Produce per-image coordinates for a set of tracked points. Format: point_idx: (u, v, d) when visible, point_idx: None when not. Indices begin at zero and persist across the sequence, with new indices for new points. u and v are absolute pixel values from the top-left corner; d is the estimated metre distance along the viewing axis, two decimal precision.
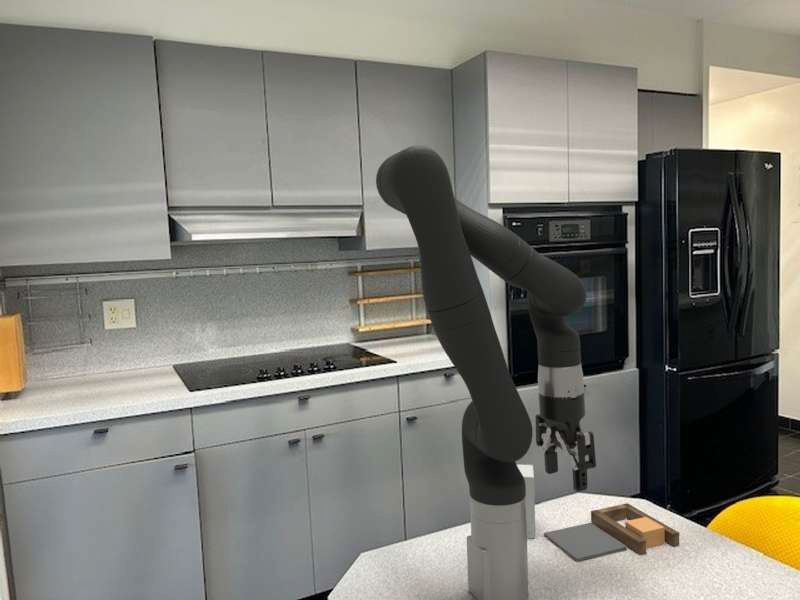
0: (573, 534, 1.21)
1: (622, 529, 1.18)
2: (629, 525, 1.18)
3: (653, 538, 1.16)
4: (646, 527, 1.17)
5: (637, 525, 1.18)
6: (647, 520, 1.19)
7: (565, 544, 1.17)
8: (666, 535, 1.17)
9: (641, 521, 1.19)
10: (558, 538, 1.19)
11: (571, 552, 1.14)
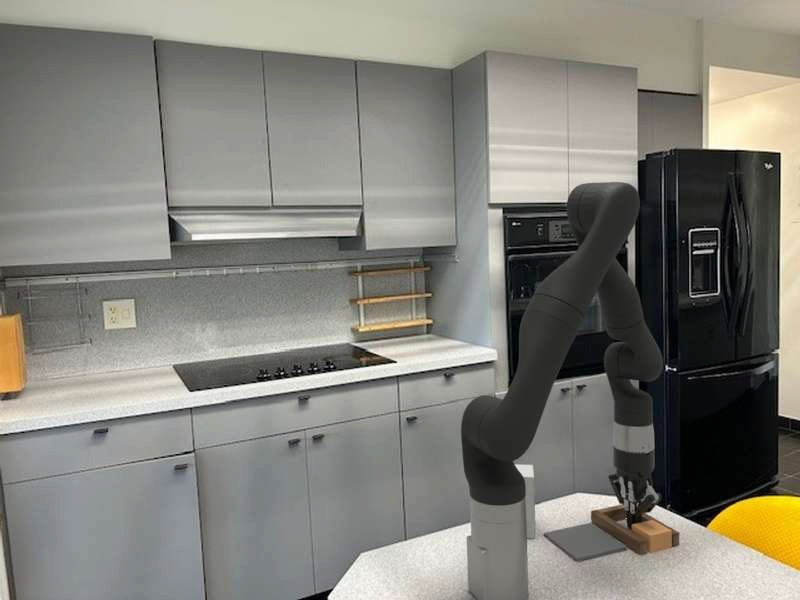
0: (573, 534, 1.21)
1: (622, 529, 1.18)
2: (636, 528, 1.17)
3: (660, 542, 1.14)
4: (653, 530, 1.15)
5: (644, 528, 1.16)
6: (654, 523, 1.18)
7: (565, 544, 1.17)
8: None
9: (648, 524, 1.18)
10: (558, 538, 1.19)
11: (571, 552, 1.14)
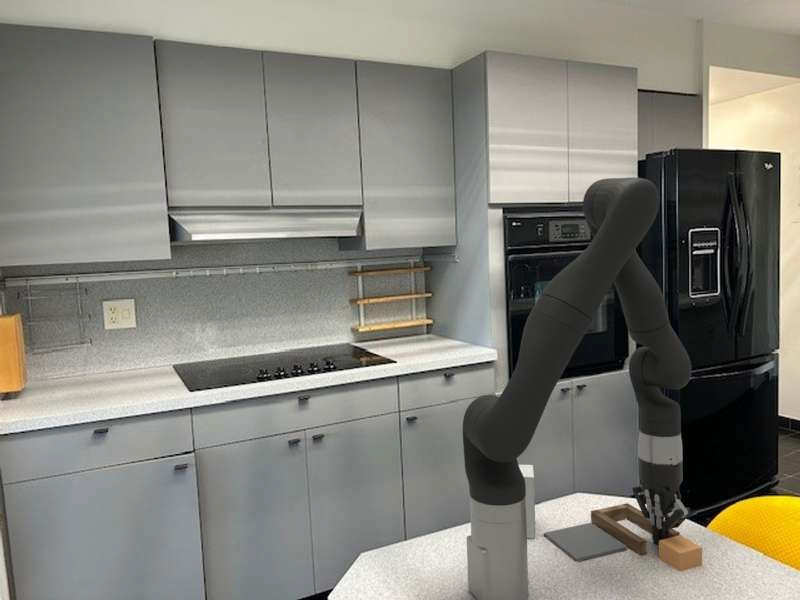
0: (573, 534, 1.21)
1: (622, 529, 1.18)
2: (663, 545, 1.10)
3: (690, 559, 1.08)
4: (682, 547, 1.09)
5: (672, 544, 1.10)
6: (682, 539, 1.11)
7: (565, 544, 1.17)
8: None
9: (676, 540, 1.11)
10: (558, 538, 1.19)
11: (571, 552, 1.14)
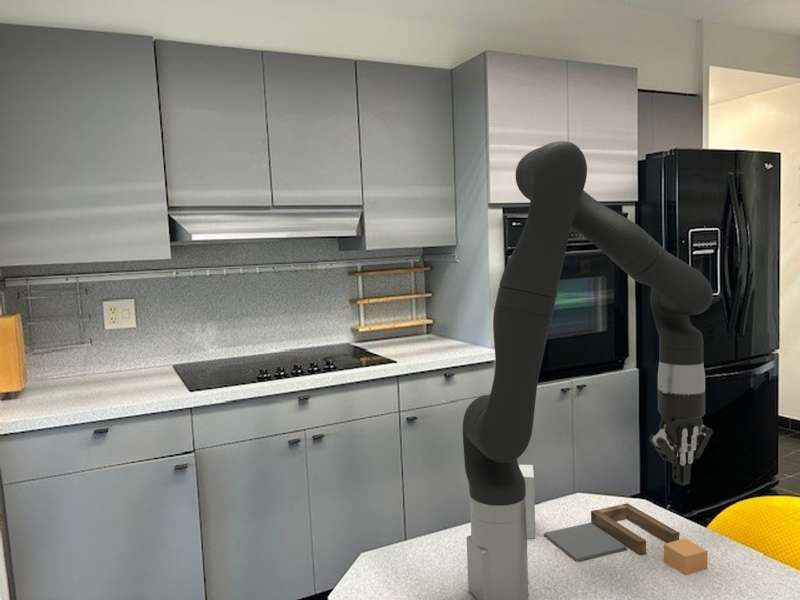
0: (573, 534, 1.21)
1: (622, 529, 1.18)
2: (668, 548, 1.09)
3: (695, 563, 1.06)
4: (687, 550, 1.07)
5: (677, 548, 1.08)
6: (687, 542, 1.10)
7: (565, 544, 1.17)
8: (666, 535, 1.17)
9: (681, 544, 1.10)
10: (558, 538, 1.19)
11: (571, 552, 1.14)
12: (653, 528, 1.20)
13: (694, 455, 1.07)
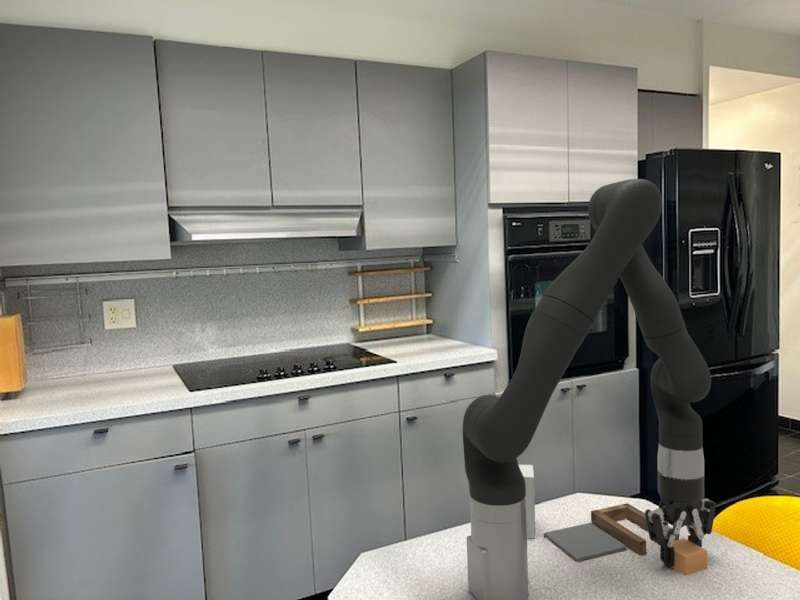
0: (573, 534, 1.21)
1: (622, 529, 1.18)
2: None
3: (695, 563, 1.06)
4: (687, 550, 1.07)
5: (677, 548, 1.08)
6: (686, 542, 1.10)
7: (565, 544, 1.17)
8: (666, 535, 1.17)
9: (680, 544, 1.10)
10: (558, 538, 1.19)
11: (571, 552, 1.14)
12: None
13: (705, 531, 1.10)
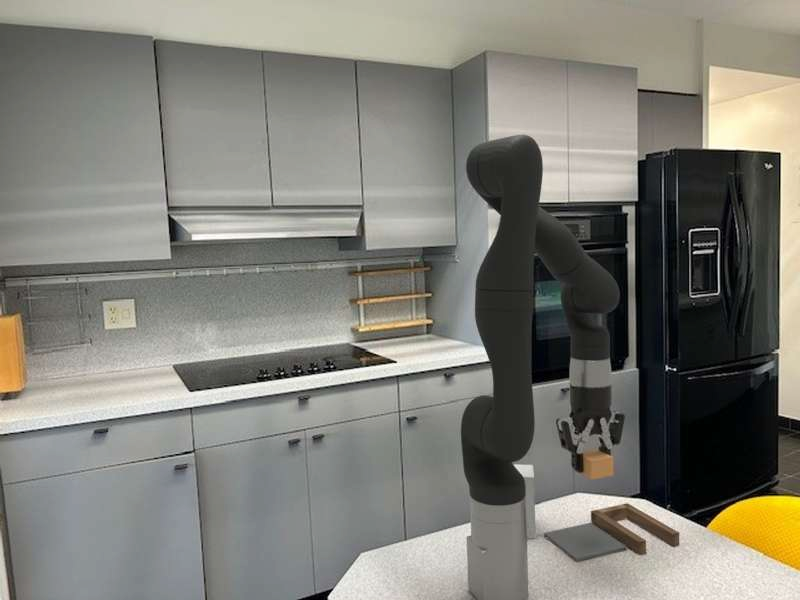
0: (573, 534, 1.21)
1: (622, 529, 1.18)
2: None
3: (601, 468, 1.13)
4: (595, 457, 1.14)
5: (586, 455, 1.15)
6: (596, 451, 1.17)
7: (565, 544, 1.17)
8: (666, 535, 1.17)
9: (591, 452, 1.16)
10: (558, 538, 1.19)
11: (571, 552, 1.14)
12: (653, 528, 1.20)
13: (614, 441, 1.16)
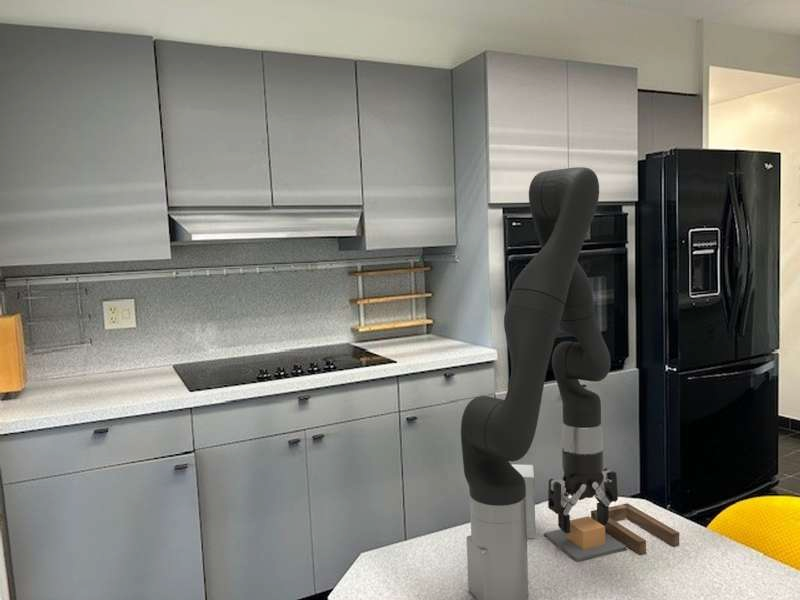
0: None
1: (622, 529, 1.18)
2: (570, 525, 1.18)
3: (593, 538, 1.15)
4: (587, 526, 1.16)
5: (578, 524, 1.17)
6: (589, 519, 1.19)
7: (565, 544, 1.17)
8: (666, 535, 1.17)
9: (583, 521, 1.19)
10: (558, 538, 1.19)
11: (571, 552, 1.14)
12: (653, 528, 1.20)
13: (611, 498, 1.19)
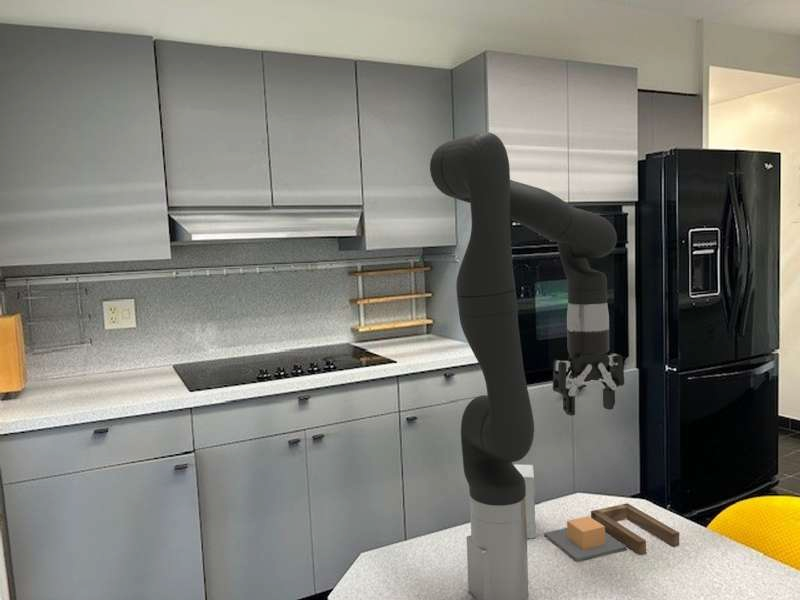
0: None
1: (622, 529, 1.18)
2: (570, 525, 1.18)
3: (593, 538, 1.15)
4: (587, 526, 1.16)
5: (578, 524, 1.17)
6: (589, 519, 1.19)
7: (565, 544, 1.17)
8: (666, 535, 1.17)
9: (583, 521, 1.19)
10: (558, 538, 1.19)
11: (571, 552, 1.14)
12: (653, 528, 1.20)
13: (618, 382, 1.16)
